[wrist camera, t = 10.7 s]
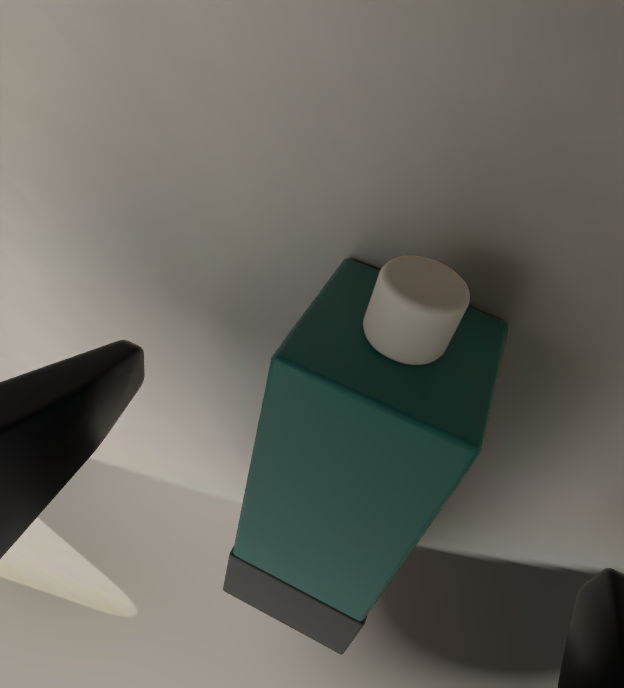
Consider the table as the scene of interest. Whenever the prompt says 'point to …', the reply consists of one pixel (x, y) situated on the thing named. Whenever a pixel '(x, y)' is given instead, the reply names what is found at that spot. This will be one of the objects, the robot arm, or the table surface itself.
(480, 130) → the table surface
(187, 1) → the table surface
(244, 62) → the table surface
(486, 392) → the teal square bottle
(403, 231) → the table surface
